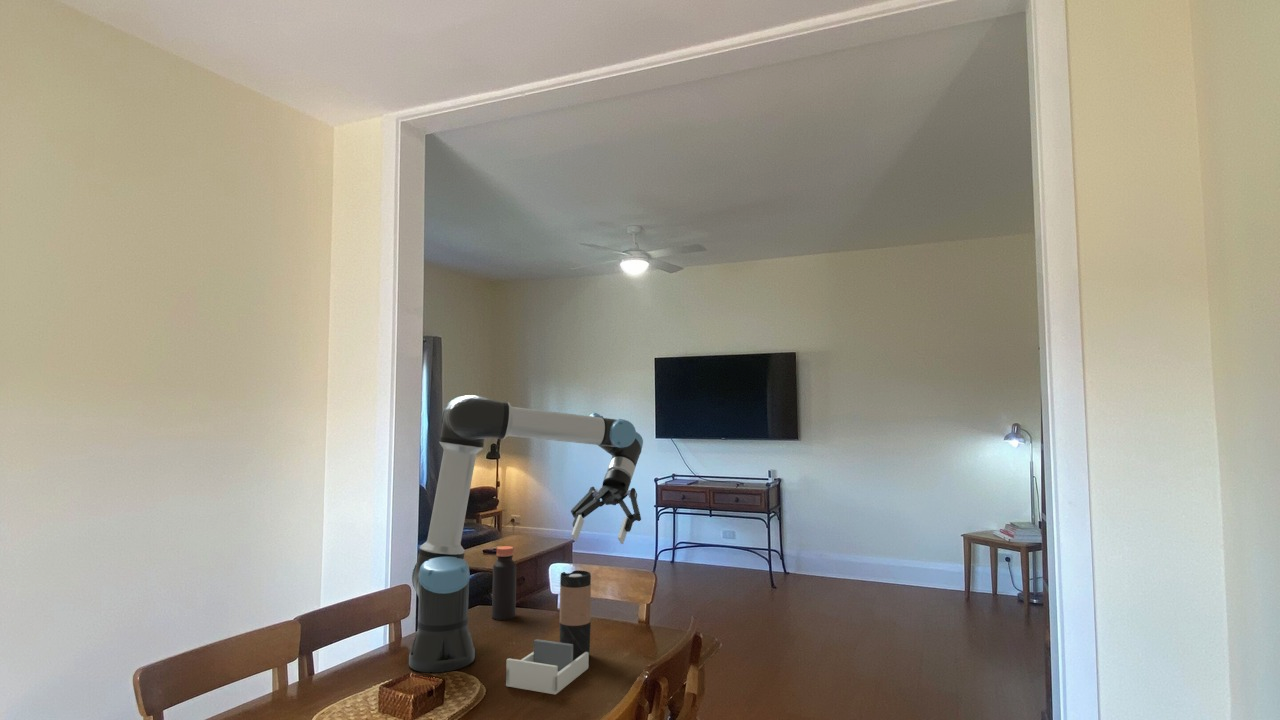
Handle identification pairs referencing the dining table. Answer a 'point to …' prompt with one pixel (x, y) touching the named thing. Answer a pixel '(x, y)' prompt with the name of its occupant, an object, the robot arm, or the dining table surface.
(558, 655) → the block
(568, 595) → the travel mug
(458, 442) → the robot arm
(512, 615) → the bottle
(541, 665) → the white open box
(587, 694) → the dining table surface
